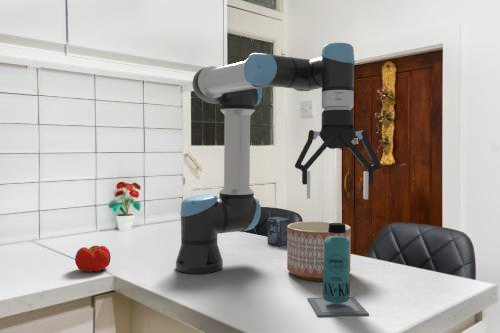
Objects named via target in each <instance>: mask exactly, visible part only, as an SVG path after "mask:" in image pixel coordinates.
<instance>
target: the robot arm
mask: <svg viewBox="0 0 500 333" xmlns="http://www.w3.org/2000/svg"><path fill="white" fill-rule="evenodd" d="M354 50H355V49H354V47H353V45H352V44H350V43H348V42H347V43H346V42H331V43H327V44H325V45H323V47H322V49H321V54H320V55H321V56H320V57H316V58H312V59H308V58H307V59H306V58H299V57H291V56H284V55H283V56H282V55H276V54H269V53H268V52H267V53H266V52H260V53H258V52H253V53H251V54H249V55H248V58H246V59H245V60H244V61H239V62H236V63H231V64H227V65H224V66H220V67H218V66H214V65H211V66H206V67H203V68H200V69H199V70H197V71H196V73H194V76H193V77H192V89H193V91H194V94H195V95H196V96H197V97H198V98H199V99H201V101H204V102H205V103H208V104H213V105H214V104H215V105H219V108H220V109H219V110H220V112H221V113H222V114H223V115H224V131H223V132H224V134H223V135H224V136H223V137H224V140H223V141H224V144H223V145H224V146H223V148H224V150H223V151H224V152H223V154H224V156H223V158H224V159H223V162H224V164H223V168H224V169H223V187H222V188H221V189H220V191H219V198H218V195H216V194H214V193H207V194H206V193H205V194H199V195H192V196H188V197H186V198H184V199H183V200H182V201H181V204H180V248H179V251H178V255H177V258H176V259H175V260H176V261H175V270H176V271H178V272H180V273H183V274H190V275H191V274H193V275H197V274H198V275H199V274H200V275H201V274H202V275H203V274H210V273H214V272H218V271H220V270H222V269H223V268H224V262H223V257H222V255H221V251H220V248H219V244H218V234H227V233H235V232H239V233H242V232H243V233H244V232H245V231H250V230H251V231H252V229H255V228H256V226H257V225H258V223H259V221H260V219H261V215H262V214H261V211H262V207H261V204H260V201H259V199H258V197H256V196H255V191H254V190H253V189H252V188H251V187H250V177H251V176H250V170H251V169H250V168H251V166H250V165H251V164H250V163H251V160H250V159H251V155H250V154H251V115H253V113H255V111H256V107H257V106H258V105H259V104H260V103H261V100H262V97H263V88H270V87H272V88H275V87H277V88H286V89H293V90H295V91H297V92H310V91H314V90H318V89H321V109H322V112H321V129H320V131H317V130H312V129H310V130H309V131H308V134H307V140H306V143H305V145H304V146H303V148H302V150H301V152H300V154H299V156H298V158H297V159H296V161H295V164H294V168H295V169H297V170H300V171H301V183H302V185H306V199H310V200H311V171H310V170H309V168H310V167H311V166H312V165H313V164H314V162H315V161H316V160H317V159H318V158H319V157H320V156H321V155H322V154H323V153H324V152H325V150H326V149H327V148H328V149H331V150H334V149H341V150H342V149H343V150H344V149H348V150H349V151H350V152H351V153H352V154H353V155H354V156H355V158H356V159H357V160H358V161H359V162H360V163H361V165H362V166H363V167H364V168H365V169H366V171H364V170H363V187H362V188H363V191H362V192H363V197H362V198H363V199H364V200H369V186H372V185H373V184H374V172H375V171H376V170H379V169H381V168H382V165H381V162H380V160H379V159H378V156H377V154H376V152H375V150H374V149H373V146H372V144H371V142H370V140H369V137H368V136H369V135H368V130H366V129H363V130H358V131H355V128H354V127H355V126H354V125H355V123H354V119H355V118H354V116H355V115H354V113H355V112H354V111H353V110H352V109H353V108H354V105H355V104H354V103H355V100H354V99H355V98H354V90H355V88H354V87H355V62H356V61H355V52H354ZM318 137H320V139H321V140H322V141H323V143H321V145H320V146H319V147H318V148H317V149H316V151H314V153H313V154H312V155H311V156H310V158H309V159H308V160H307V161H306V163H304V164H302V163H303V161H304V159H305V157H306V156H307V153H308V151H309V149H310V147H311V145H312V143H313V142H314V141H315V140H317V138H318ZM356 137H357V138H358V140H360V141H361V143H362V144H363V146H364V149H365V151H366V153H367V155H368V157H369V159H370V161H371V163H372V164H370V162H369V161H368V159H366V157H365V156H364V155H363V154H362V153H361V151H360V150H359V149H358V148H357V147H356V145H355V144H354V143H353V140H354V139H355V138H356Z"/></svg>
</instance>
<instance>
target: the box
mask: <svg viewBox="0 0 500 333" xmlns="http://www.w3.org/2000/svg"><path fill="white" fill-rule="evenodd" d="M289 224H291V219H290V218H285V217H280V216H273V217H267V244H268V245H269V244H270V245H274V246H278V247H285V246H287V226H288V225H289Z"/></svg>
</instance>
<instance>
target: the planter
mask: <svg viewBox="0 0 500 333" xmlns="http://www.w3.org/2000/svg"><path fill="white" fill-rule="evenodd" d="M330 223H336V222H335V221H322V220H320V221H319V220H318V221H317V220H316V221H315V220H313V221H309V220H308V221H307V220H306V221H299V222H297V221H296V222H292V223H291V222H290V224H289V225H288V226H287V245H286V246H287V247H286V248H287V249H286V250H287V252H286V253H287V254H286V256H287V257H286V263H287V264H286V267H287V270H288V272H289V273H291V274H293V275H294V276H295V277H297V278H300V279H302V280H307V281H314V282H315V281H316V282H323V262H324V240H325V239H326V238H327V237H329V236H342V237H345V238H346V239H347V240H348V241H349V242H350V259H349V263H350V264H351V256H352V254H351V252H352V251H351V246H352V245H351V244H352V243H351V242H352V241H351V240H352V239H351V238H352V237H351V236H352V230H351V226H350V225H348V224H346V223H344V224H345V229H346V232H345V233H330V232H328V229H329V224H330Z"/></svg>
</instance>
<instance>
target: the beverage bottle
mask: <svg viewBox="0 0 500 333" xmlns="http://www.w3.org/2000/svg"><path fill="white" fill-rule="evenodd" d="M345 224H346V223H344V222H343V223H342V222H335V223H330V224H329V229H328V232H330V233H345V232H346V229H345ZM349 259H350V242H349V241H348V240H347V239H346V238H345V237H342V236H329V237H327V238H326V239H325V240H324V262H323V281H322V289H321V290H322V297H323V298H324V300H325V301H328V302H331V303H344V302H347V301H348V300H349V297H351V296H350V290H351V289H350V288H351V287H350V286H351V284H350V283H351V280H350V279H351V275H350V272H351V262H350V263H349Z"/></svg>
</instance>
